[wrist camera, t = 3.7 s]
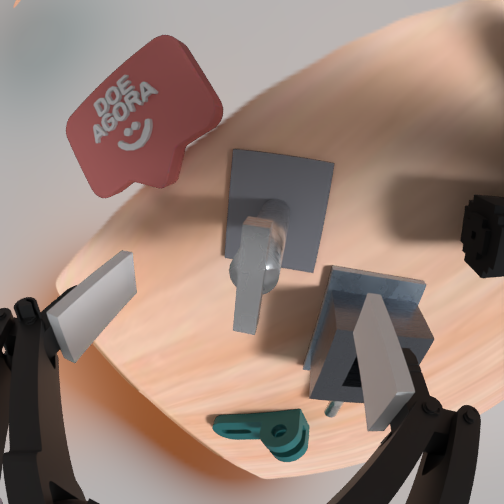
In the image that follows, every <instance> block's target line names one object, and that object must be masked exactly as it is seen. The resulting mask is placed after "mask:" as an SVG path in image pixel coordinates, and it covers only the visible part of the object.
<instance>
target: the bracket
mask: <svg viewBox="0 0 504 504" xmlns="http://www.w3.org/2000/svg"><path fill="white" fill-rule="evenodd" d="M213 430H214V431H215V432H216V433H217V434H218V435H220V436H222V437H225V438H229V439H237V440H240V439H261V441H262V442H263V444H264V445H265V446H266V447H267V448H268V449H269V450H270V452H271V453H272V454H273V455H274V457H275V458H276V459H278V460H280V461H283V462H291V461H295V460H297V459H299V458H300V457H302V456H303V455H304V454H305V452H306V451H307V448H308V440H309V425H308V423H307V421H306V419H305V417H304V415H303V413H302V411H301V409H293V410H285V411H276V412H264V413H251V414H229V415H219V416H217V417H216V418H215V421H214V424H213Z"/></svg>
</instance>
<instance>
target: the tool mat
mask: <svg viewBox="0 0 504 504" xmlns="http://www.w3.org/2000/svg"><path fill="white" fill-rule="evenodd" d="M333 169H334V163H331V162H325V161H320V160H314V159H308V158H302V157H295V156H289V155H282V154H274V153H267V152H258V151H250V150H240V149H233V158H232V169H231V180H230V192H229V204H228V217H227V231H226V245H225V258H229V259H233V258H234V257H235V255H236V253H237V251H238V250H239V248H240V246H241V236H242V225H243V223H244V221H245V220H246V218H247V217H248V216H250V217H257V216H258V214H259V212H260V211H261V209H262V207H263V205H264V204H265V203H266V202H267V201H269V200H272V199H279V200H282V201H284V202H285V203H286V204H287V205H288V206H289V208H290V212H291V215H290V221H289V227H288V232H287V237H286V243H285V248H284V253H283V259H282V264H281V268H287V269H293V270H299V271H305V272H311V273H313V272H314V267H315V263H316V258H317V254H318V249H319V244H320V239H321V235H322V230H323V225H324V219H325V214H326V209H327V204H328V198H329V193H330V187H331V181H332V175H333Z"/></svg>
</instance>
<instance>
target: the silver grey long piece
mask: <svg viewBox="0 0 504 504" xmlns="http://www.w3.org/2000/svg"><path fill="white" fill-rule="evenodd" d="M290 215H291V212H290V208H289V206H288V205H287V204H286V203H285V202H284V201H282V200H279V199H272V200H269V201H267V202H266V203H265V204H264V205H263V207H262V209H261V211H260V212H259V214H258V216H257V217H250V216H248V217H247V218H246V220H245V221H244V223H243V225H242V236H241V246H240V248H239V250H238V251H237V253H236V255H235V257H234V258H233V260H232V262H231V264H230V269H229V273H230V278H231V280H232V282H233V284H234V285H235V286H236V287H237V290H236V301H235V312H234V324H233V331H237V332H242V333H247V334H252V335H255V333H256V329H257V325H258V322H259V315H260V309H261V302H262V295H263V294H266V293H268V292H270V291H271V290H272V289H273V288H274V287H275V286H276V284H277V282H278V279H279V274H280V269H281V264H282V259H283V253H284V248H285V243H286V237H287V232H288V227H289V221H290Z"/></svg>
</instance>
